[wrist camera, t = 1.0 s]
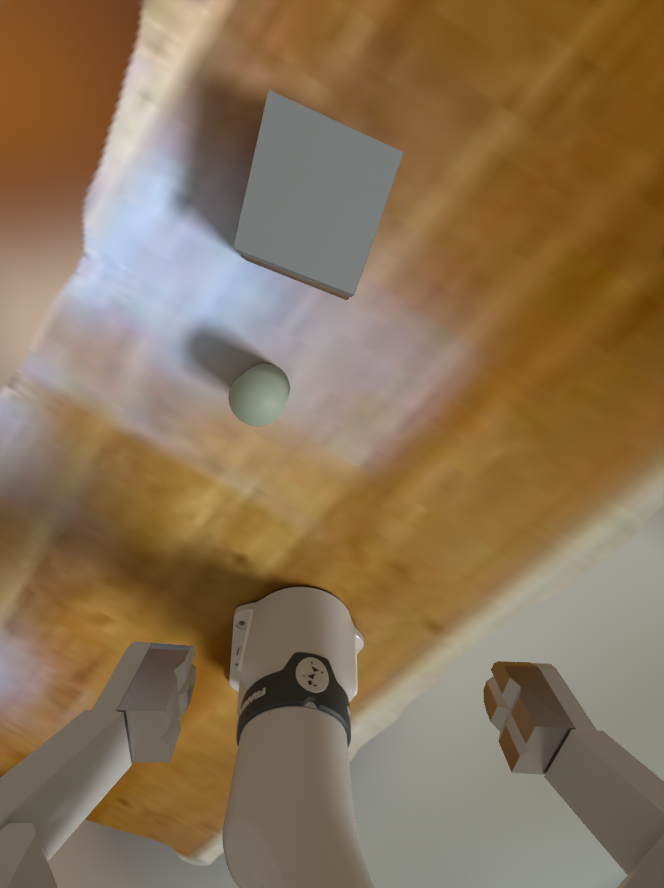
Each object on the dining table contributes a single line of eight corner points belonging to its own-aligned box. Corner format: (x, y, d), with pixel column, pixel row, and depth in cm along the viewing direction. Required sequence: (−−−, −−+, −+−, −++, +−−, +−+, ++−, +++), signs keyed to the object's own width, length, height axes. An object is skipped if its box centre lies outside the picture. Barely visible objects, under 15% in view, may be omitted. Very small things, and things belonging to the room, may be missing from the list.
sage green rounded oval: (281, 415, 38) (275, 433, 32) (237, 400, 37) (222, 416, 32) (295, 372, 36) (291, 383, 31) (249, 356, 36) (236, 364, 30)
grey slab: (350, 297, 31) (354, 295, 28) (242, 255, 30) (233, 247, 27) (393, 171, 28) (403, 152, 25) (274, 117, 27) (268, 89, 23)
